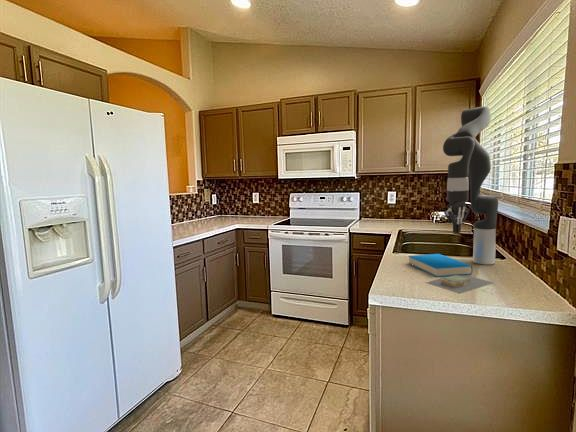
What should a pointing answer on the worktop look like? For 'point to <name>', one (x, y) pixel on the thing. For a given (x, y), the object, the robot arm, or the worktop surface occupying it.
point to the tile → (455, 281)
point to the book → (440, 265)
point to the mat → (473, 285)
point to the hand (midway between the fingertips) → (456, 233)
